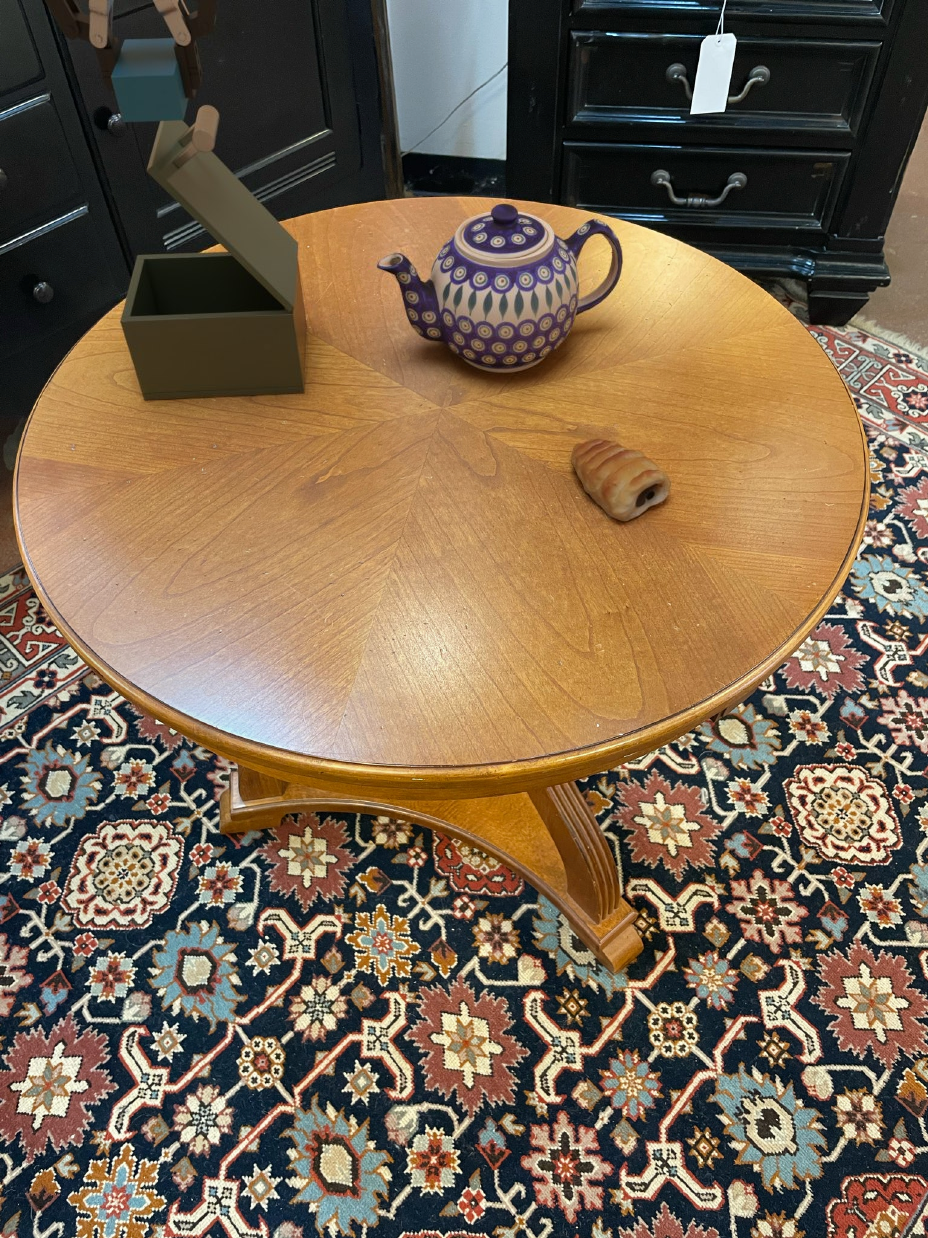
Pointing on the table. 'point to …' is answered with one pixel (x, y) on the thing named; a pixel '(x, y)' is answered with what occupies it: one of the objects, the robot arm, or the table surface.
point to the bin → (211, 329)
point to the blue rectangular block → (149, 81)
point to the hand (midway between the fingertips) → (157, 93)
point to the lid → (224, 203)
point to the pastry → (619, 478)
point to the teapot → (502, 288)
